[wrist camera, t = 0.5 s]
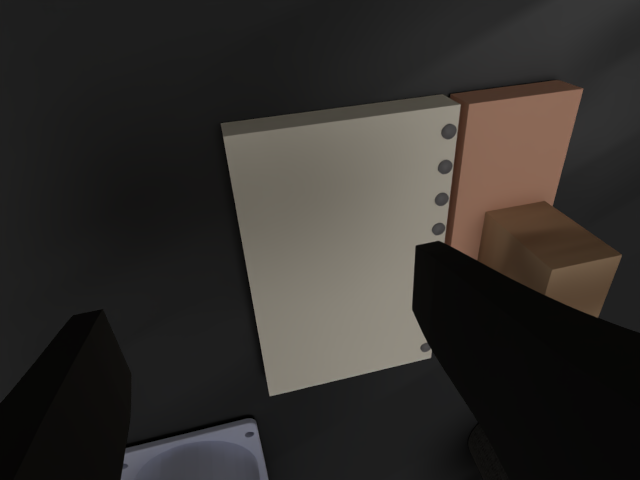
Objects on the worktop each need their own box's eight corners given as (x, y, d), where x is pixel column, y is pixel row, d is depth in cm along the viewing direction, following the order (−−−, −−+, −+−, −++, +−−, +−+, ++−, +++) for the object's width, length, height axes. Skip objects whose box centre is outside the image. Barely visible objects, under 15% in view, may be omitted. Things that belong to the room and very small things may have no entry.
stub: (502, 321, 27) (573, 403, 22) (424, 338, 26) (480, 428, 21) (558, 79, 19) (684, 123, 14) (450, 94, 18) (546, 145, 13)
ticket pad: (419, 338, 26) (431, 359, 25) (265, 374, 25) (269, 398, 23) (442, 94, 18) (462, 105, 17) (220, 123, 17) (223, 137, 16)
